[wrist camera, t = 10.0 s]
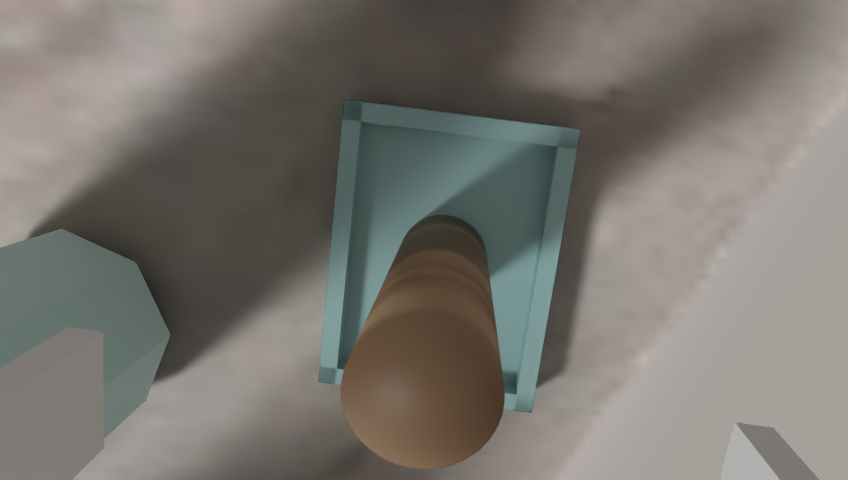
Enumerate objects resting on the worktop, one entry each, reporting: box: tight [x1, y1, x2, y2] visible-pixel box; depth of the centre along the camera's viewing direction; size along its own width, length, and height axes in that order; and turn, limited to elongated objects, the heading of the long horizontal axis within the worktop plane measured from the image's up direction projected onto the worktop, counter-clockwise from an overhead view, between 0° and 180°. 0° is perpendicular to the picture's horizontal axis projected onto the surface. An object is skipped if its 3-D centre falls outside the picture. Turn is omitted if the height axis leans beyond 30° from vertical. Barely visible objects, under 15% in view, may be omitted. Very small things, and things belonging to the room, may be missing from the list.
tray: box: [318, 100, 581, 413], centre depth 29 cm, size 13×10×2 cm
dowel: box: [341, 215, 505, 469], centre depth 22 cm, size 4×4×14 cm
